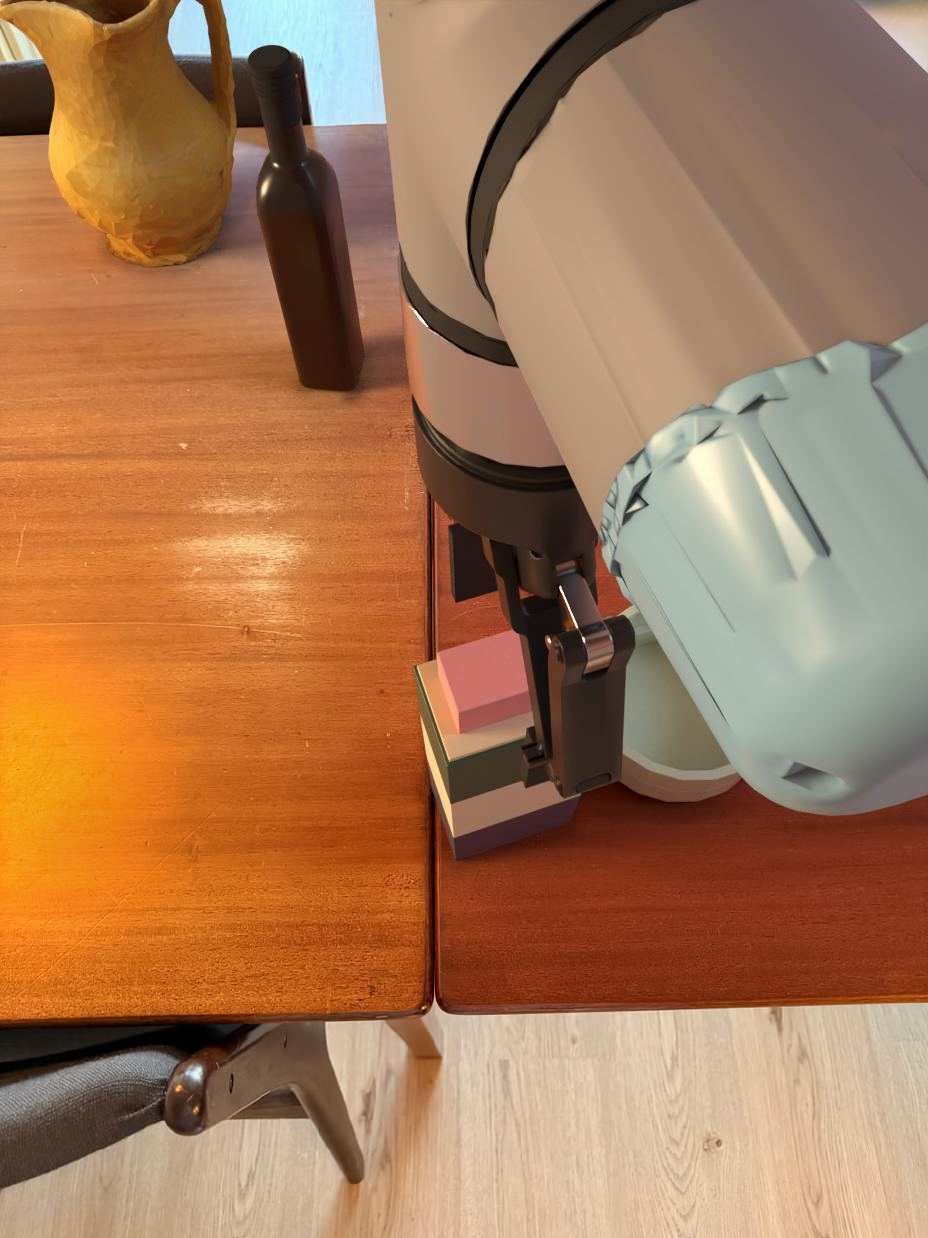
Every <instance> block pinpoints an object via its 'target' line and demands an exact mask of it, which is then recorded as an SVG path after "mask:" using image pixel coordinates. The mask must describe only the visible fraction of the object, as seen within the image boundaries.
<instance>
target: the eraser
mask: <svg viewBox="0 0 928 1238" xmlns="http://www.w3.org/2000/svg"><path fill="white" fill-rule="evenodd" d="M436 659H437V661H438V672H439V678H440V681H441V684H442V687H443V690H444V693H445V696H446V698H447V701H448V704H449V707H450V710H451V713H452V716H453V719H454V722H455V724H456V727H457V730H458V733H459V734H462V733H465V732H468V731H471V730H474V729H477V728H480V727H484V726H487V725H490V724H493V723H496V722H499V721H502V720H506V719H509V718H512V717H515V716H518V715H521V714H525V713H528V712H531V711H532V707H531V701H530V696H529V690H528V684H527V678H526V672H525V666H524V660H523V655H522V649H521V643H520V637H519V634H517V633H516V632H514V631H513V629H509V630H507V631H503V632H500V633H497V634H493V635H490V636H487V637H483V638H480V639H477V640H473V641H470V642H467V643H463V644H459V645H457V646H454V647H450V648H447V649H444V650H441V651H438V652H436Z"/></svg>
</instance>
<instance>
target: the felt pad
mask: <svg viewBox="0 0 928 1238" xmlns="http://www.w3.org/2000/svg"><path fill="white" fill-rule="evenodd" d="M435 659H436V660H435ZM435 659H432V660H433V661H432V660H429V661H430V662H429V661H426V662H427V663H425V662H422V663H423V664H422V663H419V664H420V665H419V664H416V665H417V668H418V671H419V674H420V677H421V680H422V683H423V686H424V689H425V692H426V695H427V698H428V701H429V704H430V706H431V709H432V712H433V715H434V718H435V721H436V724H437V727H438V730H439V733H440V736H441V739H442V742H443V745H444V748H445V750H446V753H447V756H448V759H449V762H452V761H455V760H458V759H461V758H464V757H467V756H470V755H473V754H476V753H480V752H483V751H486V750H489V749H492V748H495V747H498V746H501V745H504V744H507V743H510V742H513V741H516V740H519V739H523V738H525V736H526V729H527V728H528V727H531V726H534V719H533V713H532V711H531V712H528V713H525V714H521V715H518V716H515V717H512V718H509V719H506V720H502V721H499V722H496V723H493V724H490V725H487V726H484V727H480V728H477V729H474V730H471V731H468V732H465V733H462V734H459V733H458V730H457V727H456V724H455V722H454V719H453V716H452V713H451V710H450V707H449V704H448V701H447V698H446V696H445V693H444V690H443V687H442V684H441V681H440V678H439V672H438V661H437V658H435Z"/></svg>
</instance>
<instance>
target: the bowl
mask: <svg viewBox="0 0 928 1238" xmlns="http://www.w3.org/2000/svg"><path fill="white" fill-rule="evenodd" d="M622 614H623V615H625V616H626V617H627V618H628V619H629V620H630V622H631V624H632V626H633V628H634V630H635V642H636V645H635V649H634V651H633V653H632V655H631V658H630V660H629V662H628V664H627V666H626V684H625V708H624V732H623V755H622V778H621V780H619V781H618V782H620V783H621V784H623V786H626V787H627V788H629V789H630V790H632V791H633V792H635V793H637V794H638V795H639V794H640V795H642V796H646V797H649V798H653V799H656V800H659V801H663V802H667V803H676V802H677V803H680V802H685V803H686V802H700V801H703V800H706V799H709V798H712V797H715V796H717V795H721V794H723V793H726V792H728V791H729V790H730V789H731V788H733V787H734V786H735V785H736V784H738V782H740V781H741V780H743V778H742V777H741V775H740V774H739V773H738V772H737V771H736V770H735V769H734V768H733V766H732V765H731V763H730V762H729V760H728V758H727V757H726V755H725V753H724V751H723V750H722V748H721V746H720V745H719V743H718V741H717V740H716V738H715V736H714V735H713V733H712V731H711V730H710V728H709V726H708V725H707V723H706V721H705V719H704V718H703V716H702V714H701V713H700V711H699V709H698V708H697V706H696V704H695V703H694V701H693V699H692V698H691V696H690V694H689V693H688V691H687V689H686V687H685V686H684V684H683V682H682V681H681V679H680V677H679V676H678V674H677V672H676V671H675V669H674V667H673V666H672V664H671V662H670V660H669V659H668V657H667V655H666V654H665V652H664V650H663V649H662V647H661V645H660V644H659V642H658V640H657V639H656V637H655V635H654V634H653V632H652V630H651V628H650V627H649V625H648V623H647V622H646V620H645V618H644V617H643V615H642V613H641V612H640V611H639V610H638V609H637V608H636V607H635V606H634V605H633V604H632V605H630V606H629V607H628V608H625V610H623V611H621V612H620V613H619V614H617V615H616V616H619V615H622Z"/></svg>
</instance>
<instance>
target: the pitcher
mask: <svg viewBox="0 0 928 1238" xmlns="http://www.w3.org/2000/svg"><path fill="white" fill-rule="evenodd" d="M181 1H182V0H0V19H1V20H3V21H5V22H6V23H8V24H10V25H12V26H13V27H15V28H16V29H17V30H19V31H20V33H22V34H23V35H24V36H25V37H26V38H27V39H28V40H30V42H31V43H32V44H33V45H34V47H35V48H36V49H37V51H38V53H39V54H40V56H41V58H42V59H43V61H44V63H45V65H46V68H47V70H48V73H49V75H50V78H51V81H52V85H53V89H54V105H53V106H54V108H53V112H52V117H51V122H50V126H49V127H50V128H49V134H48V138H49V139H48V153H47V155H48V160H49V166H50V170H51V173H52V177H53V179H54V181H55V183H56V186H57V187H58V190H59V192H60V195H61V197H62V199H64V200H65V201H66V202H67V204H68V206H69V208H70V209H71V210H72V212H73V213H74V214H75V215H76V216H77V217H78V218H79V219H80V220H81V221H82V222H85V223H87V224H88V225H91V226H92V227H94V228H95V229H96V230H99V231H100V232H101V233H104V234H105V238H104V240H105V242H106V243H105V245H106V247H107V249H108V251H109V253H110V254H112V255H114V256H115V257H118V258H121V259H122V260H123V261H126V263H127V262H128V263H132V264H135V265H140V266H141V265H142V266H144V267H148V268H153V267H157V268H158V267H162V266H174V265H175V264H176V265H183V264H184V263H187V262H193V261H194V260H196V259H197V258H198V257H199V256H201V255H202V254H203V253H206V252H207V251H208V249H209V248H211V247H212V245H215V244H216V241H217V239H218V237H219V235H220V233H221V231H222V227H223V225H224V221H223V220H224V217H223V214H224V213H225V212H226V209H227V205H228V203H229V199H230V195H231V192H232V188H233V175H232V172H233V168H234V163H235V157H234V148H235V138H236V135H237V133H238V127H237V125H238V120H237V111H236V104H235V99H234V93H235V87H236V84H235V81H234V75H233V54H232V49H231V41H230V35H229V29H228V25H227V17H226V15H225V11H224V6H223V2H222V0H195V1H196V2H197V3H198V4H200V5H201V6H202V9H203V13H204V18H205V21H206V25H207V35H208V40H209V49H210V63H211V64H210V65H211V66H210V67H211V81H212V94H213V99H207V98H206V97H205V96H204V95H203V94H202V93H201V92H200V91H198V90H197V88H196V87H195V86H194V84H192V83H191V81H189V80H188V78H187V77H186V76H185V74H184V73H183V71H182V69H181V68H180V66H179V65H178V64H179V63H177V61H176V58H175V55H174V53H173V49H172V47H171V45H170V42H169V29H170V21H171V19H172V18H173V16H174V14H175V12H176V9H177V7H178V6H179V4H180V2H181Z"/></svg>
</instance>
